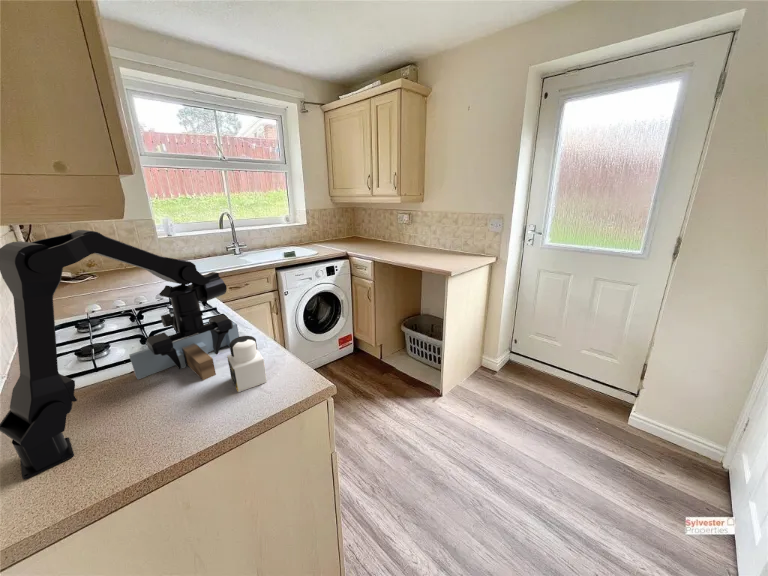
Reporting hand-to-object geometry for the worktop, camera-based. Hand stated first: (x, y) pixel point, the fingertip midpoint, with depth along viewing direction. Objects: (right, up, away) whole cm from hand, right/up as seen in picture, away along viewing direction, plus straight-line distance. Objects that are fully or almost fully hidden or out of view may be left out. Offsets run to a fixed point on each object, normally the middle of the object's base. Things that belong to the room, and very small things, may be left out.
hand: (198, 360), depth 84 cm
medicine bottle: (+15, -4, -4) cm, 16 cm away
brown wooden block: (0, -2, +1) cm, 2 cm away
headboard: (-4, -1, +4) cm, 6 cm away
